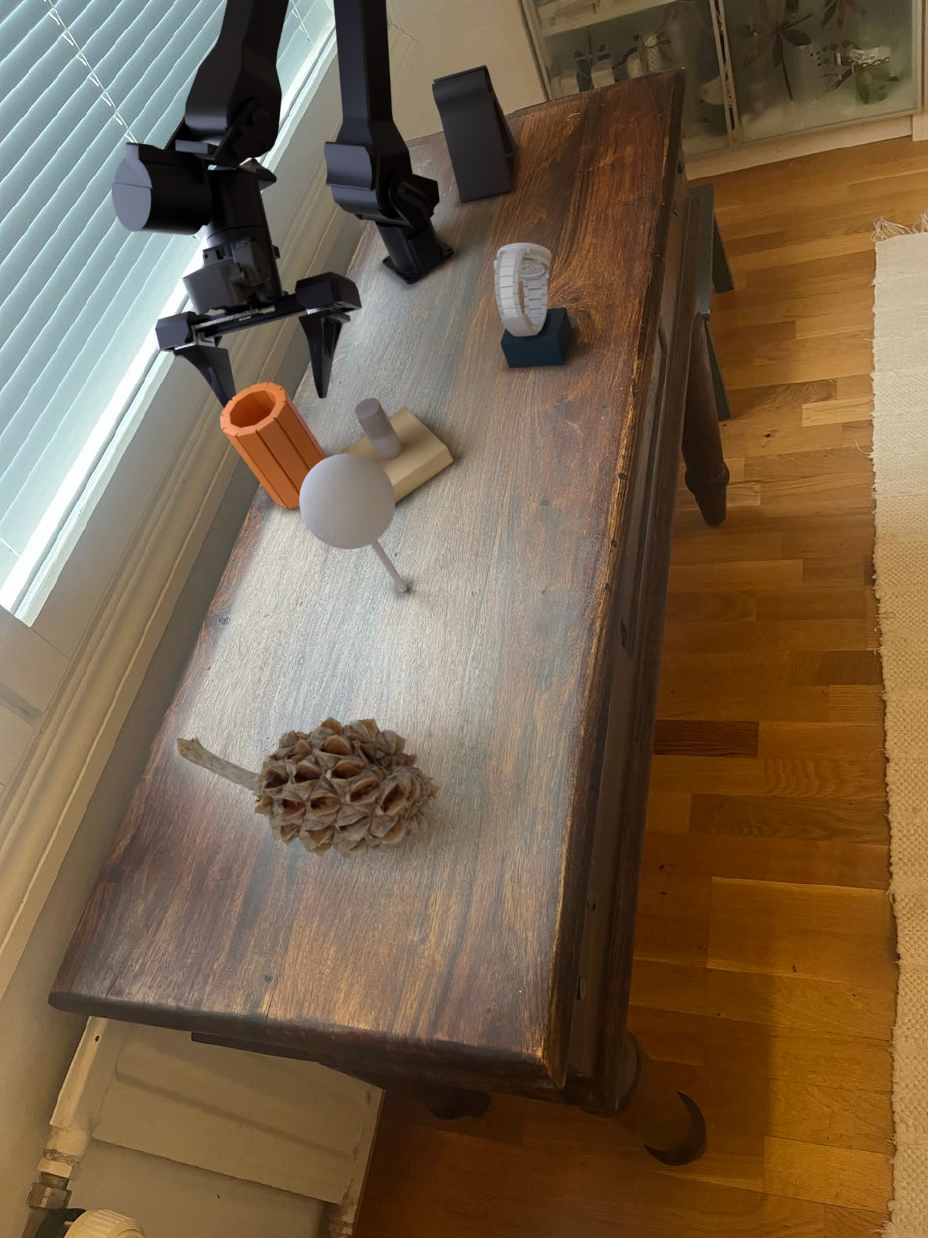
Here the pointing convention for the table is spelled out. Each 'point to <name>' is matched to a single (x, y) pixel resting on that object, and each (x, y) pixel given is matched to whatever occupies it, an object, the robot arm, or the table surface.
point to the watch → (529, 308)
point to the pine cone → (334, 787)
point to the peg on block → (399, 446)
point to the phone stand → (475, 133)
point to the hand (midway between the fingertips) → (278, 408)
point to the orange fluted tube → (272, 440)
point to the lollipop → (349, 505)
